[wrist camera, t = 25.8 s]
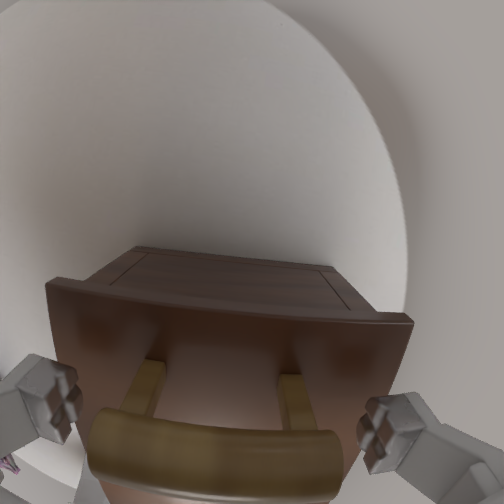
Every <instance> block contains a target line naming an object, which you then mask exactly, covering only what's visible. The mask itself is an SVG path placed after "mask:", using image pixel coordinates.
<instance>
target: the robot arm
mask: <svg viewBox="0 0 504 504" xmlns="http://www.w3.org/2000/svg"><path fill="white" fill-rule="evenodd" d="M78 379H79V378H78V374H77V370H76V369H75V368H74V367H72V366H69V365H66V364H63V363H60V362H57V361H54V360H51V359H48V358H44V357H42V356H39V355H36V354H29V355H28V356H27V357H26V358H25V359H24V360H23V361H22V362H20V363H19V364H18V365H17V366H16V367H15V368H14V369H13V370H12V371H11V372H10V373H9V374H8V375H7V376H6V377H5V378H4V379H3V380H0V459H1V458H3V457H5V456H7V455H8V454H10V453H12V452H14V451H16V450H18V449H19V448H21V447H23V446H25V445H26V444H28V443H30V442H32V441H34V440H35V439H37V438H39V436H40V437H43V438H45V439H48V440H50V441H53V442H56V443H58V444H61V445H63V444H64V443H65V441H66V439H67V437H68V436H69V434H70V432H71V431H72V429H71V425H70V423H72V422H75V421H77V420H78V419H79V417H80V415H81V413H82V409H83V395H82V391H81V389H80V388H79V387H78V386H77V385H76V382H77V381H78ZM364 408H365V410H366V412H367V413H366V414H364V415H363V416H362V417H361V418H360V419H359V421H358V424H357V426H356V441H357V444H358V447H359V448H360V449H362V450H363V451H365V452H366V453H365V455H364V458H363V459H364V462H365V464H366V467H367V469H368V472H369V474H370V475H372V474H378V473H384V472H390V471H395V470H396V473H397V474H399V475H400V476H401V477H402V478H404V479H405V480H406V481H407V482H409V483H410V484H411V485H413V486H414V487H415V488H416V489H418V490H419V491H420V492H421V493H423V494H424V495H425V496H427V497H428V498H429V499H431V500H432V501H433V502H435V503H436V504H504V452H503V451H502V450H501V449H498V448H496V447H494V446H492V445H489V444H487V443H485V442H483V441H481V440H478V439H476V438H474V437H472V436H470V435H468V434H466V433H464V432H462V431H459V430H457V429H455V428H453V427H451V426H449V425H447V424H441V423H440V422H439V420H438V419H437V418H436V416H435V415H434V414H433V412H432V411H431V409H430V408H429V407H428V406H427V404H426V403H425V402H424V400H423V399H422V397H421V396H420V395H419V394H418V393H416V392H410V393H402V394H397V395H387V396H376V397H370V399H369V400H368V401H367V403H366V405H365V407H364ZM3 479H4V475H3V472H2V471H1V470H0V484H1V482H2V480H3ZM0 504H31V503H29V502H27V501H26V500H24V499H22V498H20V497H19V496H16V495H15V494H13V493H12V492H10V491H8V490H7V489H5V488H3V487H2V486H0Z"/></svg>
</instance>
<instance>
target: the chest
mask: <svg viewBox="0 0 504 504" xmlns="http://www.w3.org/2000/svg"><path fill="white" fill-rule="evenodd" d="M85 281H86V282H92V283H98V284H104V285H110V286H117V287H123V288H130V289H137V290H144V291H151V292H158V293H166V294H174V295H181V296H190V297H198V298H207V299H215V300H225V301H234V302H244V303H255V304H266V305H277V306H289V307H302V308H317V309H332V310H349V311H370V312H377V311H376V310H375V309H374V308H373V307H372V306H371V305H370V304H369V303H368V302H367V301H366V300H365V299H364V298H363V297H362V296H361V295H360V294H359V293H358V291H357V290H356V289H355V288H354V287H353V286H352V285H351V284H350V283H349V282H348V281H347V280H346V279H345V278H344V277H343V276H342V275H341V274H340V273H338V272H337V271H336V270H335V269H334V268H333V267H328V266H318V265H309V264H299V263H289V262H279V261H270V260H260V259H251V258H241V257H232V256H222V255H213V254H204V253H194V252H185V251H176V250H167V249H158V248H149V247H140V246H135V247H134V248H132V249H131V250H129V251H127V252H126V253H124V254H123V255H121V256H120V257H118V258H117V259H115V260H114V261H112V262H111V263H109V264H108V265H106V266H105V267H103V268H102V269H100V270H99V271H98V272H96V273H95V274H93V275H92V276H90V277H89V278H87V279H86V280H85Z"/></svg>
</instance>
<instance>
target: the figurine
mask: <svg viewBox="0 0 504 504" xmlns="http://www.w3.org/2000/svg"><path fill="white" fill-rule="evenodd" d="M68 504H110V503H109V501H108V499H107V497H106V495H105V493H104V491H103V489H102V487H101V485H100V483H99V481H98V479H97V478H95V477H94V476H93V475H92V474H91V472H90V470H89V467H88V462H87V453H86V455H85V459H84V464H83V469H82V474H81V478H80V481H79V485H78V488H77V491H76V495H75V499H74V502H73V503H71V502H68Z"/></svg>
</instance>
